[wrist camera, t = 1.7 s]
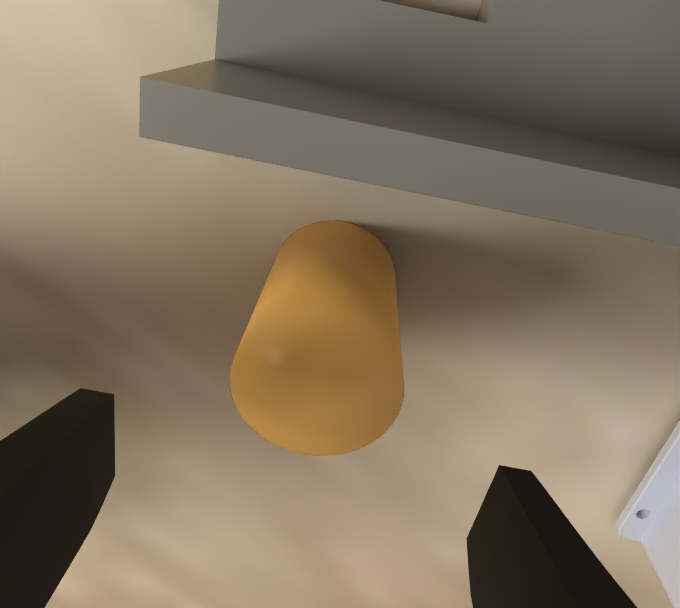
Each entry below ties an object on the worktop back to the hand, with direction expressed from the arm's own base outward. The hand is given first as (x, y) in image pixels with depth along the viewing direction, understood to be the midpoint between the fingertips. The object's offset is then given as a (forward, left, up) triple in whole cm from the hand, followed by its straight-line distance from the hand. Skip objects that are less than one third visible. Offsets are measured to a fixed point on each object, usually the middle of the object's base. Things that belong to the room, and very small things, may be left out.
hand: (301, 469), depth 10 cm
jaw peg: (0, 0, -8) cm, 9 cm away
